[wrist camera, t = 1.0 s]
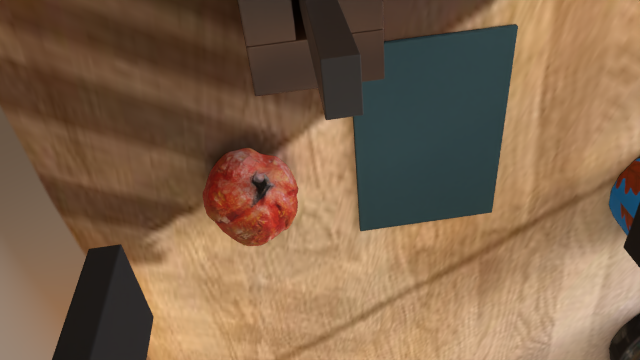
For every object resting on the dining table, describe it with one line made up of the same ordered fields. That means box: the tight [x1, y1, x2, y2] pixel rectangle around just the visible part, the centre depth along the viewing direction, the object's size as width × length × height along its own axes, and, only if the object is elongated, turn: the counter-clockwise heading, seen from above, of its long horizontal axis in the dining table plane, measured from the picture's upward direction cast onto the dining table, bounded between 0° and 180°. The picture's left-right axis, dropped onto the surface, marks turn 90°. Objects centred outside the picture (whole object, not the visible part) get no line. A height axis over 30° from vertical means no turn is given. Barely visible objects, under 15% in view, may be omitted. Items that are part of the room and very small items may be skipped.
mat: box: [353, 24, 518, 231], centre depth 44 cm, size 18×12×1 cm
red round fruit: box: [203, 148, 298, 246], centre depth 42 cm, size 7×7×10 cm
